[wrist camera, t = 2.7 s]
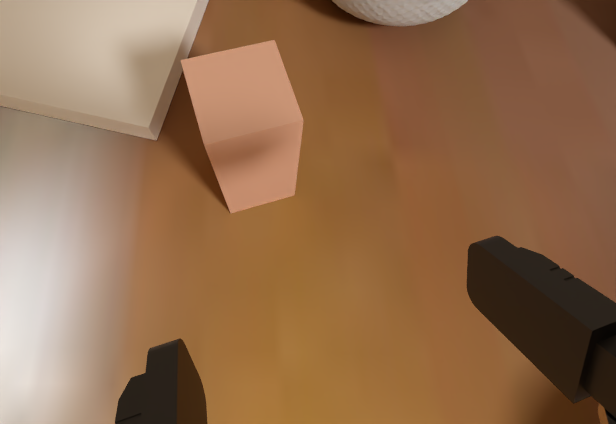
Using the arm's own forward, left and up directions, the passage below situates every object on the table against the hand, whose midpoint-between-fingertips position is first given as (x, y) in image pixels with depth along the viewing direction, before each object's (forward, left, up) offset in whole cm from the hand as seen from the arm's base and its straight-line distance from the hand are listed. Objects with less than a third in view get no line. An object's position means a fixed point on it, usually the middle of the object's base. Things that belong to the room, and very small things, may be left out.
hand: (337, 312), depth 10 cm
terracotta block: (-10, -6, -17) cm, 21 cm away
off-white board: (-20, -23, -17) cm, 35 cm away
